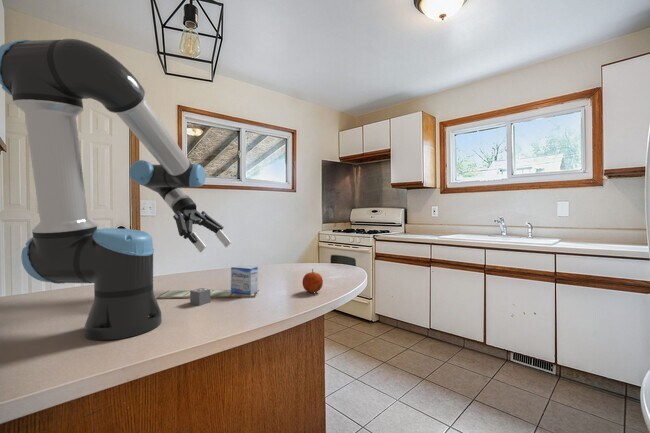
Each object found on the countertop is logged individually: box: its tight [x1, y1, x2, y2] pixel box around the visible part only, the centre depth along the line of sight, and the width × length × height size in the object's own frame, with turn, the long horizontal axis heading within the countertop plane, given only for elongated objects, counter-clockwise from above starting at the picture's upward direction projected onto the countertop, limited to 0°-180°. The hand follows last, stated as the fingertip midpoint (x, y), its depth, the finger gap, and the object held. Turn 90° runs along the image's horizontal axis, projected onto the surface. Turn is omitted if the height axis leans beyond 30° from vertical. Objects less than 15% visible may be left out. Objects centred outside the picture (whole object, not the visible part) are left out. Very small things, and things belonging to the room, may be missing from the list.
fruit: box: [301, 268, 324, 294], centre depth 102 cm, size 7×7×8 cm
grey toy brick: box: [189, 287, 212, 307], centre depth 91 cm, size 4×4×4 cm
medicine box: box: [230, 265, 259, 295], centre depth 101 cm, size 8×4×9 cm, turn 71°
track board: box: [155, 289, 260, 300], centre depth 100 cm, size 31×9×1 cm, turn 94°
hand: (216, 247), depth 104 cm, fingers open, 13 cm apart
